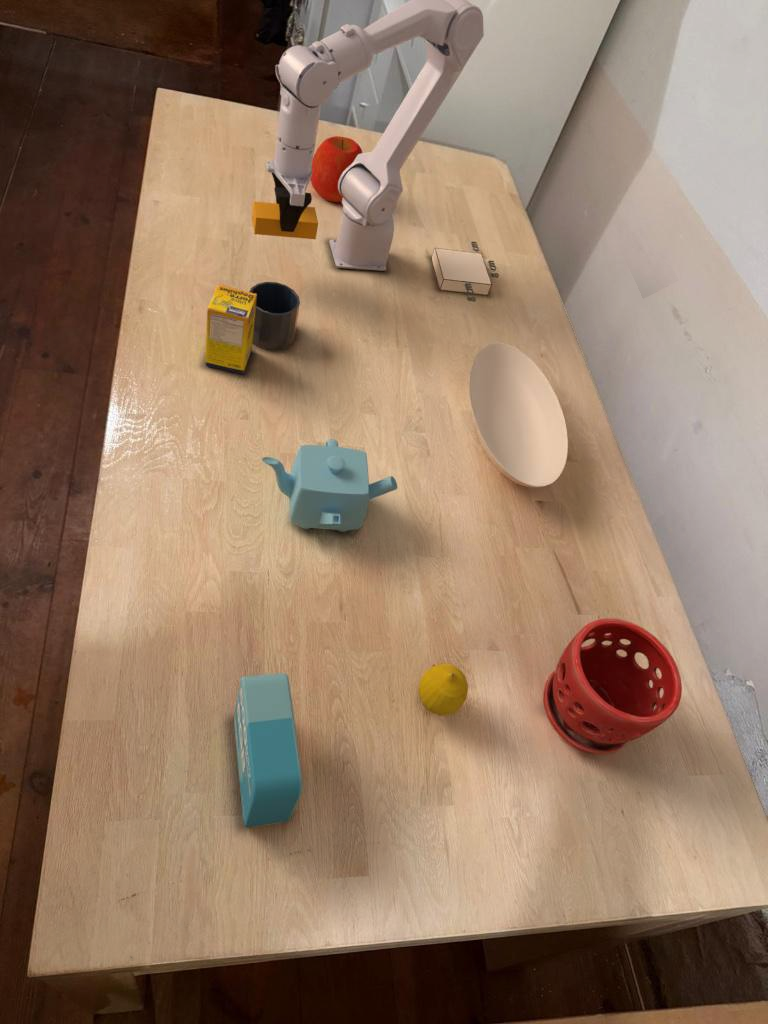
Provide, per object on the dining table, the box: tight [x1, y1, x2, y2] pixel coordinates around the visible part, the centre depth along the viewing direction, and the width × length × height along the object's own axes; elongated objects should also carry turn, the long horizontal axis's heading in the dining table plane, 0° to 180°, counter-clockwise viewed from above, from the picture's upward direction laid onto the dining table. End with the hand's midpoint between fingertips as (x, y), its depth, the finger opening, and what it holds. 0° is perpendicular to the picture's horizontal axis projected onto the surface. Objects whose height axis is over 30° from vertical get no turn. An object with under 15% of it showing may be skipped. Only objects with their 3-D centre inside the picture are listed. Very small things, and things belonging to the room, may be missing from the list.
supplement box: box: [205, 284, 257, 375], centre depth 110 cm, size 6×6×11 cm
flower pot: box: [542, 618, 683, 755], centre depth 87 cm, size 13×13×12 cm
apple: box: [310, 135, 364, 203], centre depth 145 cm, size 11×11×11 cm
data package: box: [233, 672, 303, 828], centre depth 74 cm, size 12×4×12 cm, turn 12°
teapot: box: [261, 438, 398, 532], centre depth 97 cm, size 18×14×10 cm
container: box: [430, 241, 500, 303], centre depth 140 cm, size 20×11×3 cm, turn 8°
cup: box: [248, 281, 301, 351], centre depth 117 cm, size 8×8×7 cm
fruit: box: [418, 663, 469, 716], centre depth 85 cm, size 6×6×8 cm
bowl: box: [468, 342, 569, 488], centre depth 115 cm, size 30×15×6 cm, turn 4°
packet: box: [251, 200, 319, 240], centre depth 121 cm, size 10×4×3 cm, turn 101°
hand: (285, 220), depth 121 cm, fingers closed on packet, 4 cm apart
